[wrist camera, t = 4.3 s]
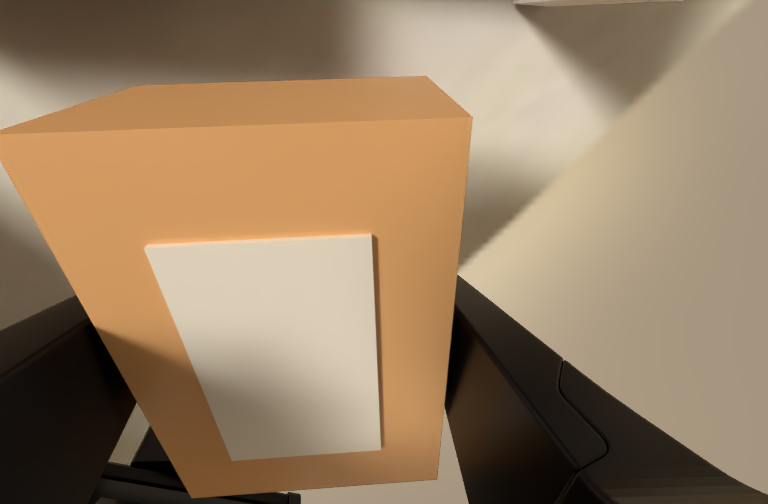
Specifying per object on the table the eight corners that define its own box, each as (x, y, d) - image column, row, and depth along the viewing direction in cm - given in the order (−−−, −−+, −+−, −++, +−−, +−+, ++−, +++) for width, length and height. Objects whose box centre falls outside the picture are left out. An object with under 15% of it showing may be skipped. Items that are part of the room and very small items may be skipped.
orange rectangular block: (416, 361, 12) (437, 484, 9) (233, 373, 11) (190, 503, 8) (426, 76, 7) (475, 119, 4) (137, 85, 7) (-22, 136, 4)
